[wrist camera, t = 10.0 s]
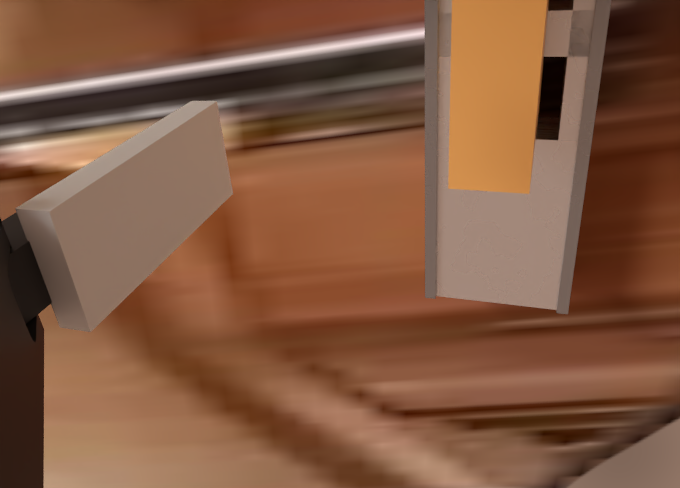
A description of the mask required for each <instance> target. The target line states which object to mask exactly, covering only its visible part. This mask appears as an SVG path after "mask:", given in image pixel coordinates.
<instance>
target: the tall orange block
mask: <svg viewBox="0 0 680 488" xmlns="http://www.w3.org/2000/svg"><path fill="white" fill-rule="evenodd" d="M548 4H549V0H452V22H451V73H450V125H449V176H448V189H461V190H477V191H492V192H508V193H523V194H529V193H530V184H531V175H532V166H533V158H534V149H535V140H536V131H537V123H538V114H539V105H540V96H541V85H542V74H543V64H544V61H543V58H544V47H545V36H546V25H547V14H548Z"/></svg>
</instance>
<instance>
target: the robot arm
mask: <svg viewBox="0 0 680 488" xmlns="http://www.w3.org/2000/svg"><path fill="white" fill-rule="evenodd" d="M232 194H233V191H232V186H231V180H230V174H229V169H228V163H227V157H226V151H225V146H224V140H223V134H222V129H221V123H220V117H219V112H218V106H217V101H191V102H189V103H187V104H186V105H184V106H183V107H181V108H179V109H178V110H176V111H174V112H173V113H171V114H169V115H168V116H166V117H165V118H163V119H161V120H160V121H158V122H156V123H155V124H153V125H151V126H150V127H148V128H147V129H145V130H143V131H142V132H140V133H138V134H137V135H135V136H133V137H132V138H130V139H129V140H127V141H125V142H124V143H122V144H120V145H119V146H117V147H115V148H114V149H112V150H111V151H109V152H107V153H106V154H104V155H102V156H101V157H99V158H97V159H96V160H94V161H93V162H91V163H89V164H88V165H86V166H84V167H83V168H81V169H79V170H78V171H76V172H74V173H73V174H71V175H70V176H68V177H66V178H65V179H63V180H61V181H60V182H58V183H56V184H55V185H53V186H52V187H50V188H48V189H47V190H45V191H43V192H42V193H40V194H38V195H37V196H35V197H34V198H32V199H30V200H29V201H27V202H25V203H24V204H22V205H20V206H19V207H17V208H16V213H15V214H13V215H11V216H10V217H8V218H7V219H5V220H3V221H1V219H0V488H43V453H44V328H43V326H42V323H41V321H40V318H39V316H38V314H39V313H40V312H41V311H42V310H44V309H45V308H46V307H47V306H48V305H49V304H51V305H52V308H53V310H54V313H55V316H56V318H57V321H58V324H59V326H60V327H61V328H68V329H74V330H81V331H87V332H91V331H92V330H93V329H94V328H95V327H96V326H97V325H98V324H99V323H101V322H102V321H103V320H104V319H105V318H106V317H107V316H108V315H109V314H110V313H111V312H112V311H113V310H114V309H115V308H116V307H117V306H118V305H119V304H120V303H121V302H122V301H123V300H124V299H125V298H126V297H127V296H128V295H129V294H130V293H131V292H132V291H133V290H134V289H135V288H136V287H138V286H139V285H140V284H141V283H142V282H143V281H144V280H145V279H146V278H147V277H148V276H149V275H150V274H151V273H152V272H153V271H154V270H155V269H156V268H157V267H158V266H159V265H160V264H161V263H162V262H163V261H164V260H165V259H166V258H167V257H168V256H169V255H170V254H171V253H172V252H173V251H175V250H176V249H177V248H178V247H179V246H180V245H181V244H182V243H183V242H184V241H185V240H186V239H187V238H188V237H189V236H190V235H191V234H192V233H193V232H194V231H195V230H196V229H197V228H198V227H199V226H200V225H201V224H202V223H203V222H204V221H205V220H206V219H207V218H208V217H209V216H210V215H212V214H213V213H214V212H215V211H216V210H217V209H218V208H219V207H220V206H221V205H222V204H223V203H224V202H225V201H226V200H227V199H228V198H229V197H230V196H231V195H232Z"/></svg>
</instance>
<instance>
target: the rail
mask: <svg viewBox="0 0 680 488" xmlns="http://www.w3.org/2000/svg"><path fill="white" fill-rule="evenodd" d="M610 7H611V0H549V4H548V14H547V25H546V36H545V47H544V57H565V66H564V75H563V84H562V93H561V103H560V112H559V118H554V117H538V123H537V131H536V140H535V149H534V158H533V166H532V175H531V184H530V193H529V194H523V193H508V192H492V191H477V190H461V189H448V176H449V125H450V73H451V22H452V0H425V298H433V299H435V298H436V296H441V297H450V298H458V299H467V300H476V301H484V302H493V303H501V304H510V305H519V306H527V307H536V308H545V309H553V310H556V313H561V314H568V309H569V302H570V295H571V288H572V281H573V273H574V266H575V259H576V252H577V245H578V237H579V230H580V223H581V216H582V209H583V202H584V194H585V187H586V180H587V173H588V166H589V158H590V151H591V144H592V137H593V130H594V122H595V115H596V108H597V101H598V94H599V86H600V79H601V72H602V65H603V58H604V51H605V43H606V36H607V29H608V22H609V15H610Z"/></svg>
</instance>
